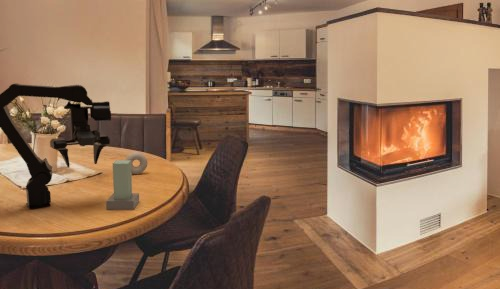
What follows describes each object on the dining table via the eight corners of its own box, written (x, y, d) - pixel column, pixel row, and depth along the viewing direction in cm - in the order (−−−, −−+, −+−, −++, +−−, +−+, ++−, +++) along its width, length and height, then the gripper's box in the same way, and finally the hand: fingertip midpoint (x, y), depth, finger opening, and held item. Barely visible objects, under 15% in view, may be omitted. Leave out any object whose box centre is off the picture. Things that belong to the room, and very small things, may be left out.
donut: (147, 172, 188) (146, 151, 187) (148, 174, 185) (147, 152, 183) (124, 173, 185) (124, 152, 183) (125, 175, 182) (124, 153, 180)
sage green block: (114, 199, 139) (112, 163, 137) (117, 194, 144) (116, 160, 142) (128, 199, 140) (127, 163, 137) (132, 194, 144) (131, 160, 142)
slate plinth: (106, 209, 138) (106, 201, 137) (113, 201, 146) (113, 193, 146) (133, 209, 138) (133, 201, 138) (139, 201, 147) (138, 193, 147)
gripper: (56, 126, 129) (60, 174, 132) (115, 122, 141) (116, 166, 143) (48, 122, 138) (51, 167, 140) (103, 119, 149) (105, 160, 152)
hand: (82, 165), depth 144 cm, fingers open, 9 cm apart
